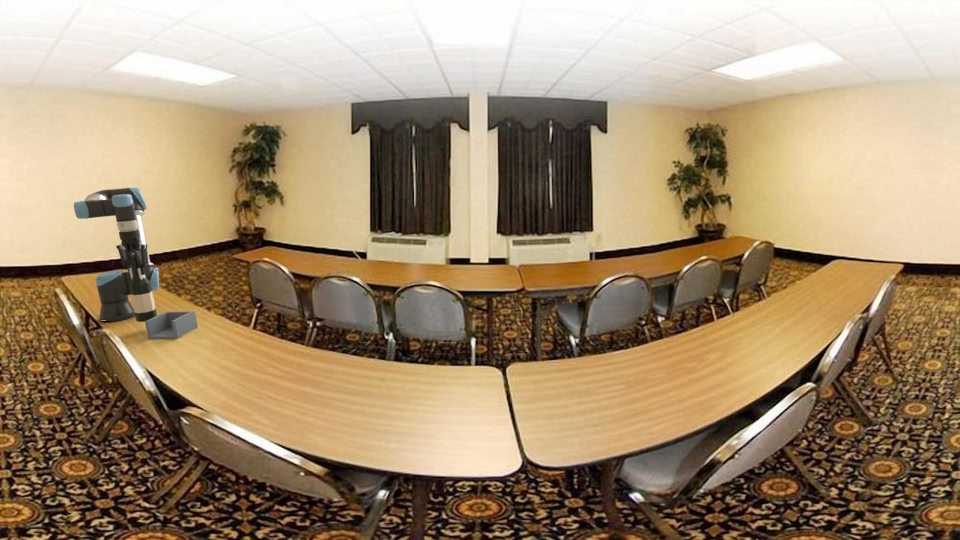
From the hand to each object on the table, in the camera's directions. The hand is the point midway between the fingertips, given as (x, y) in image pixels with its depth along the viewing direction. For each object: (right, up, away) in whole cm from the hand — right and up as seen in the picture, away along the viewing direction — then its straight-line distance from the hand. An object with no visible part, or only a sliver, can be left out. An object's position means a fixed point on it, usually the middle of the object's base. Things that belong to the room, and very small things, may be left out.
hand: (139, 281), depth 246 cm
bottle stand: (+16, -23, -1) cm, 28 cm away
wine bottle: (+1, -17, +4) cm, 18 cm away
